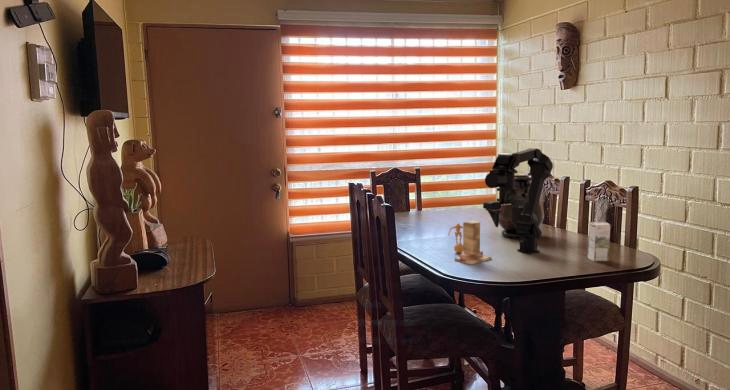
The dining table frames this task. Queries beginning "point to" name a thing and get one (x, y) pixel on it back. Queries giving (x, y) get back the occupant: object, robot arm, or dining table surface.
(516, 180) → the amphora vase
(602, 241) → the syrup box
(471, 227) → the oak post
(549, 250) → the dining table surface
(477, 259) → the fulcrum
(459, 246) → the figurine
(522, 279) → the dining table surface
